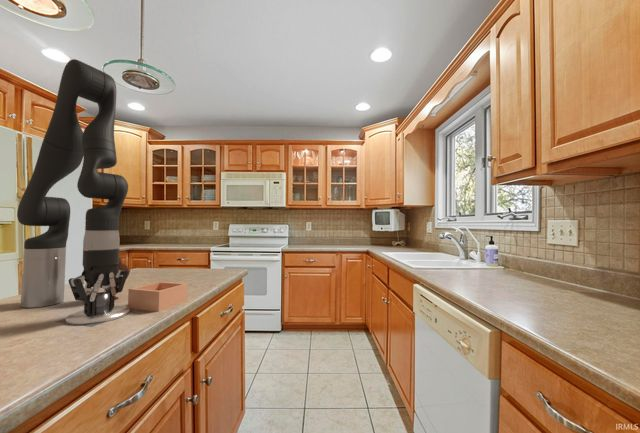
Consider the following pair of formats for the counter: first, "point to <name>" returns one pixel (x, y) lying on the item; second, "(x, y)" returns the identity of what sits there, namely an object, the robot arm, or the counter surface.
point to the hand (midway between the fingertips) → (99, 312)
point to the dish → (157, 296)
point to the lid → (99, 312)
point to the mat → (96, 323)
